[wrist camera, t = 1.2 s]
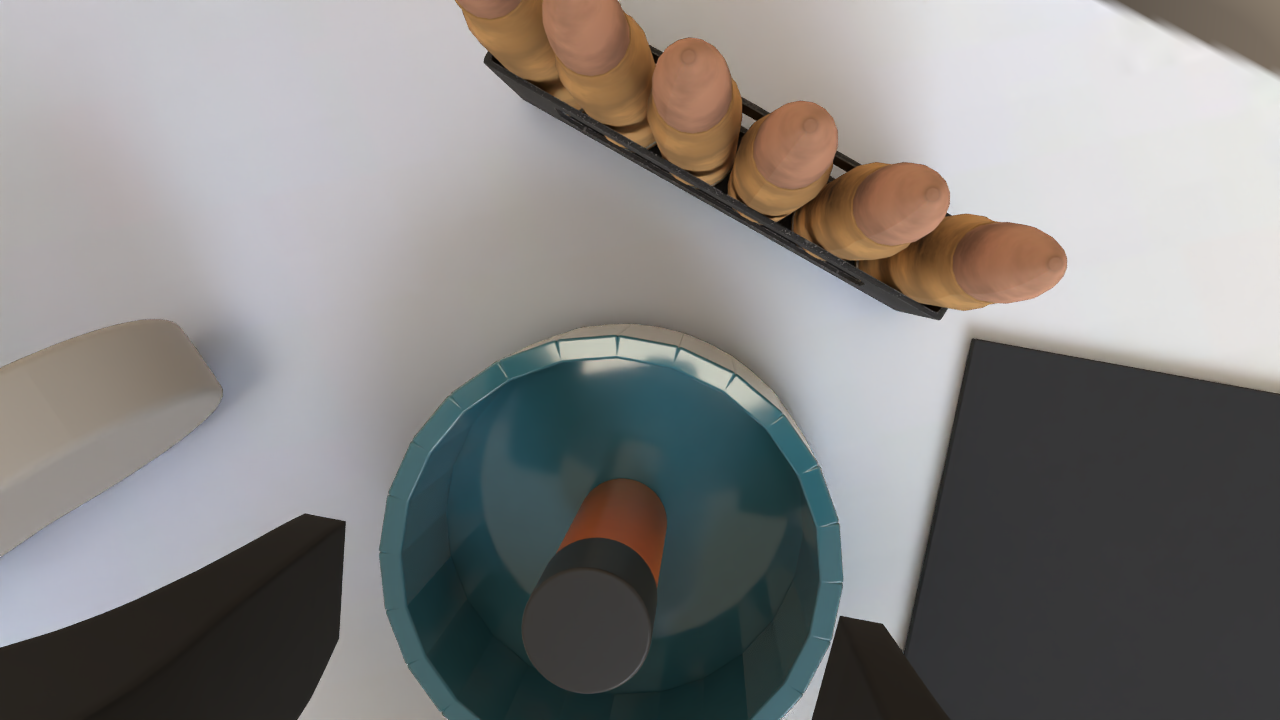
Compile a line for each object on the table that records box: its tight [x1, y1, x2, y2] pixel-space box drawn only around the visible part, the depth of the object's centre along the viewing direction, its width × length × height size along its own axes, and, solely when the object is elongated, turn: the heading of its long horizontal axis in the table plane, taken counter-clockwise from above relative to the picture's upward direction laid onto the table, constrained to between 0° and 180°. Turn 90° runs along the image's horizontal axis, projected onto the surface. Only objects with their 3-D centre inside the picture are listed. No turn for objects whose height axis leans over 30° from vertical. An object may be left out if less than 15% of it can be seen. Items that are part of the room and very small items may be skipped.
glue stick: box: [522, 479, 667, 694], centre depth 21 cm, size 2×2×8 cm
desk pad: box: [904, 339, 1280, 720], centre depth 25 cm, size 14×15×1 cm
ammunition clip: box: [455, 0, 1067, 320], centre depth 19 cm, size 11×2×12 cm, turn 61°
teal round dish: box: [379, 323, 843, 720], centre depth 23 cm, size 10×10×4 cm
